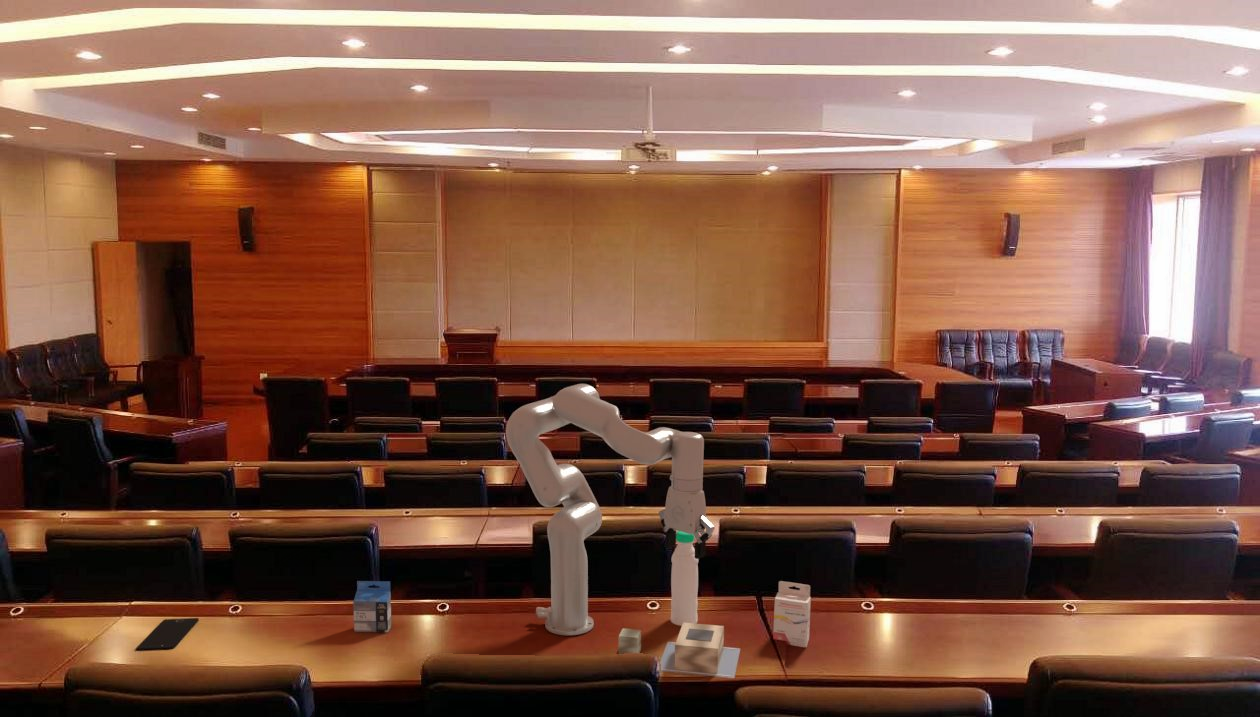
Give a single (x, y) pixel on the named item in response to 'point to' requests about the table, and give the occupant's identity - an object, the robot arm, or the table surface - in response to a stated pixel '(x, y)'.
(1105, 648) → the table surface
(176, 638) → the cell phone
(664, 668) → the board
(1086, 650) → the table surface
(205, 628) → the table surface
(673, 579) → the water bottle
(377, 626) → the label tape cartridge
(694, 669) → the plinth
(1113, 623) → the table surface
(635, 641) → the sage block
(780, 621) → the ink cartridge box
